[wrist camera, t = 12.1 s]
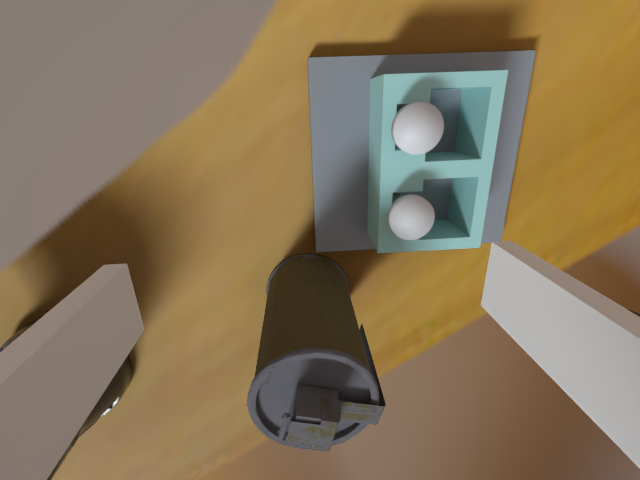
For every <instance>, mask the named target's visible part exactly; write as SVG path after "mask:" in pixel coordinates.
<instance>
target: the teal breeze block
mask: <svg viewBox="0 0 640 480" xmlns="http://www.w3.org/2000/svg"><path fill="white" fill-rule="evenodd" d="M507 75H508V70H494V71H465V72H436V73H407V74H383V75H380V76H378V77H375V78H372V79H370V120H369V171H368V222H367V234H368V236H369V238H370V240H371V242H372V243H373V245H374V247H375V249H376V251H377V253H394V252H411V251H428V250H446V249H463V248H480V245H481V239H482V232H483V226H484V220H485V214H486V207H487V201H488V195H489V188H490V182H491V176H492V169H493V163H494V157H495V151H496V144H497V138H498V132H499V125H500V119H501V113H502V107H503V100H504V94H505V88H506V81H507ZM457 89H462V94H461V103H460V112H459V120H458V129H457V138H456V147H455V151H453V152H431V153H424V154H419V155H414V154H409V153H407V152H404V151H402V150H401V149H399V148H398V147H397V146H396V144H395V143H394V141H393V138H392V134H391V127H392V122H393V120H394V117H395V116H396V113H397V104H410V103H414V102H426V103H430V93H431V90H457ZM444 178H452V181H451V190H450V199H449V208H448V216H447V220H434V224H433V226H432V228H431V229H430V231H429V232H428V233H427V234H425V235H424V236H423V237H421V238H419V239H415V240H404V239H401V238H399V237H398V236H397V235H396V234H395V233H394V232H393V231H392V229H391V228H390V226H389V224H388V211H389V209H390V207H391V205H392V197H393V193H398V192H418V191H422V190H423V180H424V179H444Z"/></svg>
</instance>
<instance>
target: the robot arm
mask: <svg viewBox="0 0 640 480" xmlns="http://www.w3.org/2000/svg"><path fill="white" fill-rule="evenodd" d="M481 306H482V307H483V308H484V309H485V310H486V311H487V312H488V313H489V314H490V315H491V316H492V317H493V318H494V319H495V321H497V322H498V324H499V325H500V326H501V327H502V328H503V329H504V330H505V331H506V332H507V333H508V334H509V335H510V336H511V337H512V338H513V339H514V340H515V341H516V342H517V343H518V344H519V345H520V346H521V347H522V348H523V349H524V350H525V351H526V352H527V353H528V354H529V355H530V356H531V357H532V358H533V359H534V361H535V362H536V363H538V365H539V366H540V367H541V368H542V369H543V370H544V371H545V372H546V373H547V374H548V375H549V376H550V377H551V378H552V379H553V380H554V381H555V382H556V383H557V384H558V385H559V386H560V387H561V388H562V389H563V390H564V391H565V392H566V393H567V394H568V395H569V396H570V397H571V398H572V399H573V400H574V401H575V403H576V404H578V406H579V407H580V408H581V409H582V410H583V411H584V412H585V413H587V415H588V416H589V417H590V418H591V419H592V420H593V421H594V422H595V423H596V424H597V425H598V426H599V427H600V428H601V429H602V430H603V431H604V432H605V433H606V434H607V435H608V436H609V437H610V438H611V439H612V440H613V442H615V444H616V445H617V446H618V447H619V448H620V449H621V450H622V451H623V452H624V453H625V454H626V455H627V456H628V457H629V458H630V459H631V460H632V461H633V462H634V463H635V464H636V465H637V466H638V467H639V468H640V314H638V313H636V312H633V311H631V310H628V309H626V308H623V307H622V306H620V305H619V304H617V303H615V302H613V301H612V300H610V299H609V298H607V297H605V296H603V295H602V294H600V293H598V292H597V291H595V290H593V289H592V288H590V287H588V286H587V285H585V284H583V283H582V282H580V281H578V280H576V279H575V278H573V277H571V276H570V275H568V274H566V273H565V272H563V271H561V270H560V269H558V268H556V267H555V266H553V265H551V264H550V263H548V262H546V261H545V260H543V259H541V258H540V257H538V256H536V255H534V254H533V253H531V252H529V251H528V250H526V249H524V248H523V247H521V246H519V245H518V244H516V243H514V242H513V241H502V242H492V245H491V251H490V256H489V262H488V268H487V273H486V279H485V284H484V290H483V296H482V301H481ZM143 331H144V326H143V322H142V318H141V314H140V311H139V307H138V303H137V299H136V295H135V292H134V288H133V284H132V280H131V277H130V273H129V269H128V265H127V263H126V264H109V265H103V266H102V267H101V268H100V269H98V270H97V271H96V272H95V273H94V274H92V275H91V276H90V277H89V278H88V279H87V280H85V281H84V282H83V283H82V284H81V285H79V286H78V287H77V288H76V289H75V290H73V291H72V292H71V293H70V294H69V295H68V296H66V297H65V298H64V299H63V300H62V301H60V302H59V303H58V304H57V305H56V306H55V307H53V308H52V309H51V310H50V311H49V312H47V313H46V314H45V315H44V316H43V317H42V318H40V319H39V320H38V321H35V322H32V323H30V324H28V325H26V326H24V327H23V328H22V329H20V330H19V331H18V332H17V333H15V334H14V335H13V336H12V337H10V338H9V339H8V340H7V341H6V342H5V343H4V344H3V345H2V347H1V348H0V480H51V479H52V478H53V476H54V475H55V473H56V471H57V470H58V468H59V467H60V465H61V464H62V462H63V461H64V459H65V458H66V456H67V455H68V453H69V451H70V450H71V448H72V447H73V445H74V444H75V442H76V441H77V439H78V438H79V437H80V436H81V435H82V434H83V433H84V432H85V431H87V430H88V429H89V428H90V427H91V426H92V425H93V424H94V423H95V422H96V421H97V420H98V419H99V418H100V417H101V416H103V415H104V414H106V413H107V412H109V411H110V410H111V409H112V408H113V407H114V406H115V405H116V404H117V403H118V402H119V400H120V399H121V397H122V396H123V394H124V392H125V391H126V389H127V387H128V385H129V383H130V380H131V373H132V371H131V364H130V361H129V358H128V354H129V353H130V351H131V350H132V348H133V347H134V345H135V344H136V342H137V341H138V339H139V338H140V336H141V335H142V333H143Z"/></svg>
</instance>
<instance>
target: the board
mask: <svg viewBox="0 0 640 480" xmlns="http://www.w3.org/2000/svg"><path fill="white" fill-rule="evenodd" d="M535 53H536V50H529V51H497V52H466V53H435V54H404V55H372V56H341V57H310V58H308V83H309V106H310V129H311V152H312V174H313V197H314V220H315V243H316V252H333V251H350V250H368V249H375V247H374V245H373V243H372V242H371V240H370V238H369V236H368V234H367V222H368V171H369V120H370V79H372V78H375V77H378V76H380V75H383V74H407V73H436V72H465V71H494V70H508V75H507V81H506V88H505V94H504V100H503V107H502V113H501V119H500V125H499V132H498V138H497V144H496V151H495V157H494V163H493V169H492V176H491V182H490V188H489V195H488V201H487V207H486V214H485V220H484V226H483V232H482V239H481V243H491V242H501V239H502V233H503V228H504V222H505V217H506V211H507V206H508V200H509V195H510V189H511V184H512V179H513V173H514V168H515V162H516V157H517V151H518V146H519V140H520V135H521V129H522V124H523V118H524V113H525V108H526V102H527V97H528V91H529V86H530V80H531V75H532V69H533V64H534V58H535ZM461 94H462V89H457V90H431V93H430V103H426V102H414V103H410V104H397V113H396V116H395V117H394V120H393V122H392V127H391V134H392V138H393V141H394V143H395V144H396V146H397V147H398V148H399V149H401V150H402V151H404V152H407V153H409V154H414V155H419V154H424V153H431V152H453V151H455V147H456V138H457V129H458V120H459V112H460V103H461ZM451 181H452V178H444V179H424V180H423V190H422V191H418V192H398V193H393V197H392V205H391V207H390V209H389V211H388V224H389V226H390V228H391V229H392V231H393V232H394V233H395V234H396V235H397V236H398V237H399V238H401V239H404V240H415V239H419V238H421V237H423V236H424V235H425V234H427V233H428V232H429V231H430V229H431V228H432V226H433V224H434V220H447V216H448V208H449V199H450V190H451Z"/></svg>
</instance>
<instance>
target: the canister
mask: <svg viewBox="0 0 640 480" xmlns="http://www.w3.org/2000/svg"><path fill="white" fill-rule="evenodd" d="M266 293H267V302H266V309H265V315H264V322H263V328H262V334H261V341H260V347H259V353H258V360H257V366H256V372H255V378H254V379H253V381H252V384H251V387H250V389H249V392H248V400H247V406H248V410H249V414H250V417H251V419H252V421H253V423H254V424H255V426H256V427H257V428H258V429H259V430H260V431H261V432H262V433H263V434H264V435H266V436H267V437H268V438H270V439H272V440H274V441H276V442H278V443H280V444H282V445H286V446H290V447H294V448H300V449H312V450H320V451H329V450H330V448H331V446H333V445H336V444H340V443H344V442H345V441H347V440H348V439H350V438H352V437H353V436H355V435H356V434H358V433H359V432H361V430H363V429H364V428H365V427H366V426H367V424H373V425H376V424H378V422H379V419H380V417H381V414H382V412H383V410H384V407H385V405H386V404H385V401H384V397H383V394H382V390H381V387H380V383H379V380H378V377H377V373H376V370H375V366H374V363H373V359H372V356H371V353H370V349H369V346H368V342H367V339H366V335H365V332H364V329H363V325H361V327H360V330H359V328H358V324H357V320H356V317H355V313H354V309H353V306H352V302H351V299H350V295H349V283H348V280H347V277H346V274H345V273H344V271H343V270H342V268H341V267H340V266H339V265H338V264H336V263H335V262H333V261H332V260H330V259H328V258H326V257H324V256H319V255H313V254H302V255H296V256H294V257H292V258H289V259H287V260H284V261H283V262H282V263H281V264H280V265H278V266H277V267H276V268H275V270H274V271H273V272H272V274H271V275H270V277H269V280H268V283H267V289H266Z"/></svg>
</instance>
